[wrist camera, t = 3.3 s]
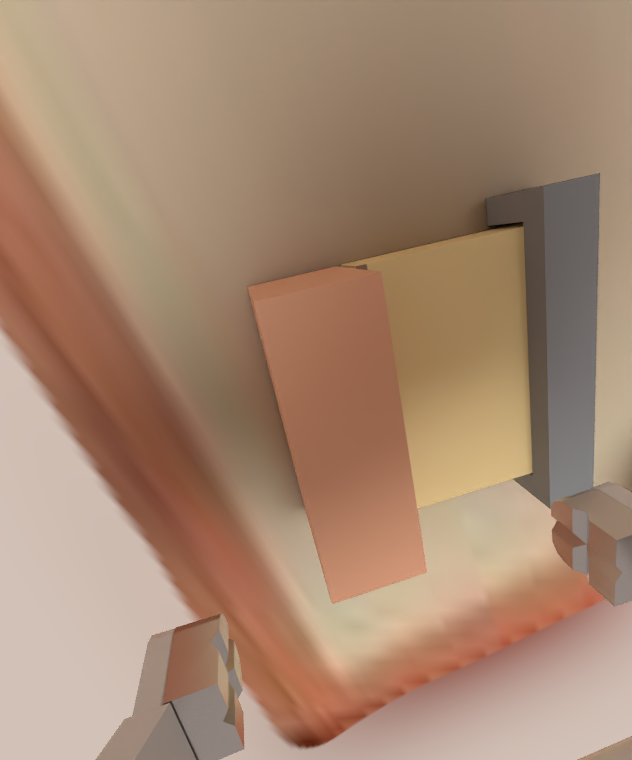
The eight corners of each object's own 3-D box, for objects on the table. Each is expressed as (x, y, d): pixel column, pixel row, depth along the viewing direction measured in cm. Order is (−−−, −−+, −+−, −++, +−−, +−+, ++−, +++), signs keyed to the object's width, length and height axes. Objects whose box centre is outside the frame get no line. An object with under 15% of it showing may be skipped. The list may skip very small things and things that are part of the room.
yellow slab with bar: (538, 186, 19) (606, 171, 16) (545, 458, 24) (598, 493, 20) (334, 232, 18) (359, 226, 14) (385, 508, 23) (412, 554, 19)
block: (335, 266, 18) (381, 271, 12) (377, 490, 22) (426, 572, 16) (247, 286, 18) (253, 302, 12) (306, 512, 22) (332, 604, 16)
